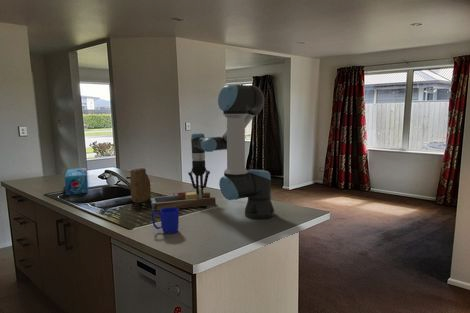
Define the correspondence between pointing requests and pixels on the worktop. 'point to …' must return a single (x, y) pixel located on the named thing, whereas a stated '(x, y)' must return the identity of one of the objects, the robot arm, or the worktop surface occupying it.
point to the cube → (191, 195)
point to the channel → (181, 201)
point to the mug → (168, 219)
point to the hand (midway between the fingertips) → (200, 199)
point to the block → (140, 185)
